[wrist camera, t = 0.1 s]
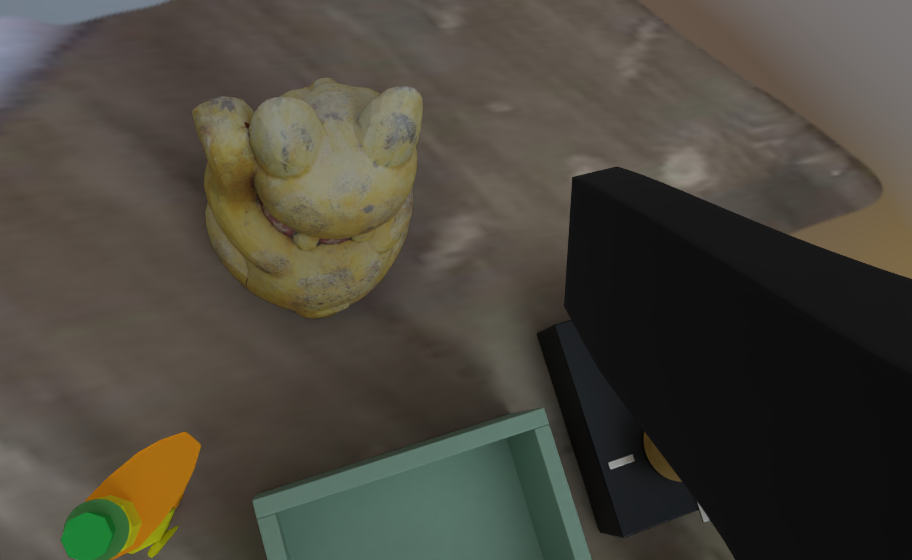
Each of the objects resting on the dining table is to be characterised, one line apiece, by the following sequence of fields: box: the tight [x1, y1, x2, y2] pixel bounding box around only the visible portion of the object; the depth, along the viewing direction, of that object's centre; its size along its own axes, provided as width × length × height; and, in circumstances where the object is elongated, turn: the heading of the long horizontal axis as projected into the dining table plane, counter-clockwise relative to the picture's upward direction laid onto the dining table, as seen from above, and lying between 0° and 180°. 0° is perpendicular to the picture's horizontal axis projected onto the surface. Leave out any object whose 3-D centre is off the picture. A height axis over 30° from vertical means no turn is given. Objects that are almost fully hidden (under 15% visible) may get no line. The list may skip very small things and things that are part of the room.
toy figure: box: [61, 431, 201, 560], centre depth 32 cm, size 7×4×12 cm, turn 140°
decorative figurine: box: [192, 78, 423, 319], centre depth 35 cm, size 10×8×15 cm
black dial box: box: [537, 320, 710, 538], centre depth 42 cm, size 12×9×3 cm
